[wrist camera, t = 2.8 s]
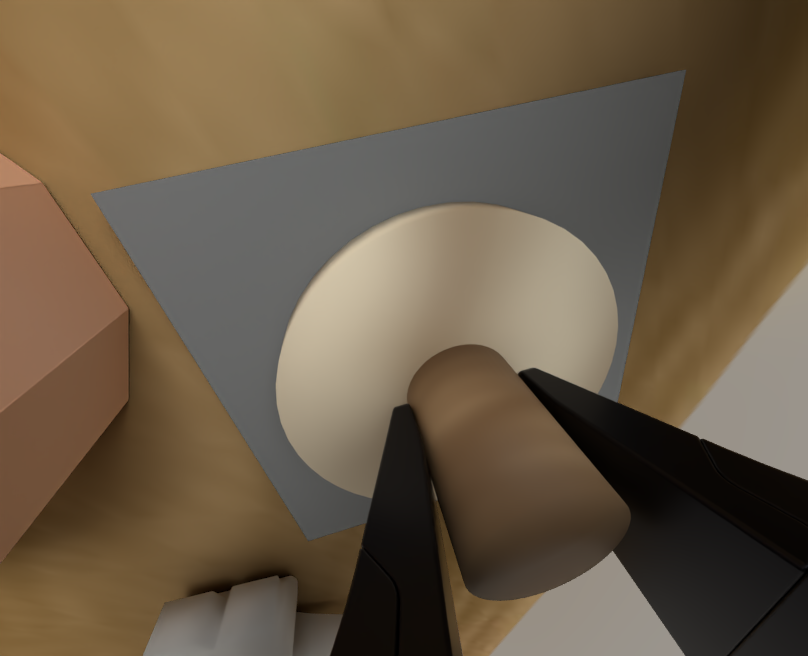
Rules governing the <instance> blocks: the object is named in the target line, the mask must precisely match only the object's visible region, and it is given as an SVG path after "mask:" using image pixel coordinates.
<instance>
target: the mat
mask: <svg viewBox="0 0 808 656" xmlns="http://www.w3.org/2000/svg"><path fill="white" fill-rule="evenodd" d="M685 73H686V70H681V71H676V72H672V73H667V74H662V75H657V76H652V77H648V78H643V79H638V80H633V81H628V82H624V83H619V84H614V85H609V86H605V87H600V88H595V89H590V90H585V91H581V92H576V93H571V94H566V95H561V96H557V97H552V98H547V99H542V100H538V101H533V102H528V103H523V104H518V105H514V106H509V107H504V108H499V109H494V110H490V111H485V112H480V113H475V114H471V115H466V116H461V117H456V118H451V119H447V120H442V121H437V122H432V123H427V124H423V125H418V126H413V127H408V128H404V129H399V130H394V131H389V132H384V133H380V134H375V135H370V136H365V137H360V138H356V139H351V140H346V141H341V142H337V143H332V144H327V145H322V146H317V147H313V148H308V149H303V150H298V151H293V152H289V153H284V154H279V155H274V156H270V157H265V158H260V159H255V160H250V161H246V162H241V163H236V164H231V165H226V166H222V167H217V168H212V169H207V170H203V171H198V172H193V173H188V174H183V175H179V176H174V177H169V178H164V179H159V180H155V181H150V182H145V183H140V184H136V185H131V186H126V187H121V188H116V189H112V190H107V191H102V192H97V193H93V194H91V195H92V197H93V199H94V200H95V202H96V203H97V205H98V207H99V208H100V210H101V211H102V213H103V215H104V216H105V218H106V219H107V221H108V223H109V224H110V226H111V227H112V229H113V230H114V232H115V234H116V235H117V237H118V238H119V240H120V242H121V243H122V245H123V246H124V248H125V250H126V251H127V253H128V254H129V256H130V258H131V259H132V261H133V262H134V264H135V266H136V267H137V269H138V270H139V272H140V274H141V275H142V277H143V278H144V280H145V282H146V283H147V285H148V286H149V288H150V289H151V291H152V293H153V294H154V296H155V297H156V299H157V301H158V302H159V304H160V305H161V307H162V309H163V310H164V312H165V313H166V315H167V317H168V318H169V320H170V321H171V323H172V325H173V326H174V328H175V329H176V331H177V333H178V334H179V336H180V337H181V339H182V341H183V342H184V344H185V345H186V347H187V348H188V350H189V352H190V353H191V355H192V356H193V358H194V360H195V361H196V363H197V364H198V366H199V368H200V369H201V371H202V372H203V374H204V376H205V377H206V379H207V380H208V382H209V384H210V385H211V387H212V388H213V390H214V392H215V393H216V395H217V396H218V398H219V400H220V401H221V403H222V404H223V406H224V407H225V409H226V411H227V412H228V414H229V415H230V417H231V419H232V420H233V422H234V423H235V425H236V427H237V428H238V430H239V431H240V433H241V435H242V436H243V438H244V439H245V441H246V443H247V444H248V446H249V447H250V449H251V451H252V452H253V454H254V455H255V457H256V459H257V460H258V462H259V463H260V465H261V466H262V468H263V470H264V471H265V473H266V474H267V476H268V478H269V479H270V481H271V482H272V484H273V486H274V487H275V489H276V490H277V492H278V494H279V495H280V497H281V498H282V500H283V502H284V503H285V505H286V506H287V508H288V510H289V511H290V513H291V514H292V516H293V518H294V519H295V521H296V522H297V524H298V525H299V527H300V529H301V530H302V532H303V533H304V535H305V537H306V538H307V540H308V541H310V540H313V539H317V538H320V537H323V536H326V535H329V534H332V533H336V532H339V531H342V530H345V529H348V528H351V527H355V526H358V525H361V524H364V523H366V522H367V517H368V513H369V509H370V505H371V500H372V498H368V497H365V496H361V495H358V494H354V493H352V492H349V491H347V490H345V489H342V488H340V487H338V486H336V485H334V484H332V483H331V482H329V481H327V480H325V479H324V478H322V477H321V476H320V475H319V474H317V473H316V472H315V471H314V470H312V469H311V468H310V467H309V466H308V465H307V464H306V463H305V462H304V461H303V460H302V459H301V458H300V456H299V455H298V454H297V452H296V451H295V449H294V448H293V446H292V445H291V443H290V442H289V440H288V438H287V436H286V433H285V431H284V429H283V427H282V424H281V420H280V416H279V412H278V408H277V399H276V378H277V369H278V362H279V357H280V353H281V348H282V344H283V339H284V336H285V332H286V329H287V325H288V322H289V319H290V317H291V314H292V312H293V310H294V308H295V306H296V304H297V302H298V299H299V297H300V296H301V294H302V293H303V291H304V290H305V288H306V287H307V285H308V284H309V282H310V281H311V279H312V278H313V277H314V275H315V274H316V273H317V272H318V271H319V270H320V269H321V268H322V266H323V265H324V264H325V263H326V262H327V261H328V260H329V259H330V258H331V257H332V256H333V255H334V254H335V253H336V252H338V251H339V250H340V249H341V248H342V247H343V246H345V245H346V244H347V243H348V242H349V241H351V240H352V239H354V238H355V237H357V236H358V235H360V234H362V233H363V232H365V231H366V230H368V229H369V228H371V227H372V226H374V225H377V224H379V223H381V222H383V221H385V220H387V219H389V218H391V217H393V216H396V215H398V214H401V213H404V212H408V211H411V210H414V209H417V208H420V207H424V206H430V205H436V204H441V203H447V202H481V203H489V204H497V205H501V206H504V207H508V208H511V209H515V210H518V211H521V212H524V213H527V214H530V215H533V216H536V217H539V218H542V219H545V220H547V221H549V222H551V223H553V224H555V225H557V226H559V227H562V228H564V229H565V230H567V231H568V232H570V233H571V234H572V235H574V236H575V237H576V238H578V239H579V240H580V241H582V242H583V243H584V244H585V245H586V246H587V247H588V248H589V250H590V251H591V252H592V253H593V254H594V255H595V256H596V257H597V259H598V260H599V262H600V263H601V265H602V267H603V268H604V270H605V271H606V273H607V275H608V278H609V280H610V283H611V285H612V288H613V290H614V295H615V300H616V304H617V313H618V332H617V342H616V347H615V351H614V356H613V360H612V363H611V366H610V368H609V371H608V374H607V376H606V379H605V381H604V383H603V385H602V387H601V389H600V391H599V393H598V394H599V395H601V396H603V397H606V398H608V399H610V400H613V401H615V402H618V397H619V393H620V388H621V383H622V378H623V373H624V368H625V364H626V359H627V354H628V349H629V344H630V339H631V335H632V330H633V325H634V320H635V315H636V310H637V306H638V301H639V296H640V291H641V286H642V281H643V277H644V272H645V267H646V262H647V257H648V252H649V247H650V243H651V238H652V233H653V228H654V223H655V218H656V214H657V209H658V204H659V199H660V194H661V189H662V185H663V180H664V175H665V170H666V165H667V160H668V156H669V151H670V146H671V141H672V136H673V131H674V127H675V122H676V117H677V112H678V107H679V102H680V97H681V93H682V88H683V83H684V78H685ZM436 501H437V500H436Z"/></svg>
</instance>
